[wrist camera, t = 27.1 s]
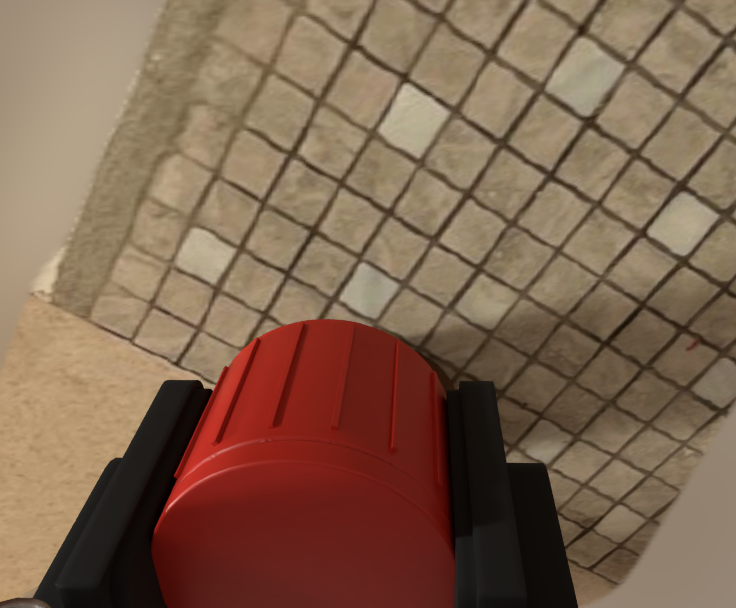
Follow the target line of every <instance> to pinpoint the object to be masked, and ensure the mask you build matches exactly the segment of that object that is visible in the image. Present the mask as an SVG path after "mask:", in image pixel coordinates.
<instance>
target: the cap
mask: <svg viewBox="0 0 736 608" xmlns="http://www.w3.org/2000/svg"><path fill="white" fill-rule="evenodd" d="M174 477H175V478H177V481H176V483H175V485H174V487H173V490H172V492H171V494H170V496H169V498H168V501H167V503H166V505H165V507H164V509H163V512H162V514H161V516H160V518H159V520H158V523H157V525H156V527H155V529H154V533H153V537H152V541H151V553H152V558H153V562H154V566H155V570H156V574H157V577H158V581H159V585H160V589H161V592H162V596H163V599H164V602H165V604H166V606H167V607H168V608H454V585H455V540H454V522H453V505H452V488H451V470H450V453H449V436H448V418H447V396H446V393H445V391H444V388H443V386H442V384H441V382H440V380H439V379H438V376H437V373H436V372H435V371H433V370H432V369H431V367H430V366H429V365H428V363H427V362H426V361H425V360H424V359H423V358H422V357H421V356H420V355H419V354H418V353H417V352H415V351H414V350H413V349H412V348H410V347H409V346H408V345H406V344H405V343H404V342H402V341H401V340H399V339H397V338H396V337H394V336H392V335H390V334H388V333H386V332H383V331H381V330H379V329H377V328H374V327H370V326H367V325H364V324H361V323H356V322H351V321H345V320H333V319H319V320H306V321H301V322H296V323H292V324H289V325H285V326H282V327H279V328H277V329H275V330H272V331H270V332H268V333H266V334H264V335H262V336H261V337H259V338H258V337H257V338H255V339H254V340H253V342H251V343H250V344H249V345H248V346H246V347H245V348H244V349H243V350H242V351H241V352H240V353H239V354H238V355H237V356H236V357H235V359H234V360H233V361H232V363H231V364H230V366H229V367H227V366H225V367H224V369H223V371H222V373H221V375H220V377H219V380H218V382H217V384H216V386H215V388H214V391H213V393H212V395H211V397H210V399H209V401H208V404H207V406H206V408H205V410H204V412H203V414H202V417H201V419H200V421H199V423H198V425H197V427H196V430H195V432H194V434H193V436H192V438H191V440H190V443H189V445H188V447H187V449H186V451H185V453H184V456H183V458H182V460H181V462H180V464H179V466H178V469H177V471H176V473H175V475H174Z"/></svg>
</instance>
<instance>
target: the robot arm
mask: <svg viewBox="0 0 736 608" xmlns="http://www.w3.org/2000/svg"><path fill="white" fill-rule="evenodd" d="M212 393H213V391H212V389H204V387H203V384H202V383H201V381H199V380H167V381H165V382H164V383H163V384H162V386H161V388H160V389H159V391H158V393H157V395H156V397H155V399H154V400H153V402H152V404H151V406H150V408H149V410H148V412H147V413H146V415H145V417H144V419H143V421H142V423H141V425H140V426H139V428H138V430H137V432H136V434H135V436H134V438H133V439H132V441H131V443H130V445H129V447H128V449H127V451H126V452H125V454H124V456H123V458H115V459H113V460H111V461H110V462H109V464H108V465H107V466H106V468H105V469H104V471H103V473H102V475H101V476H100V478H99V480H98V482H97V483H96V485H95V487H94V489H93V491H92V492H91V494H90V496H89V498H88V500H87V501H86V503H85V505H84V507H83V508H82V510H81V512H80V514H79V516H78V517H77V519H76V521H75V523H74V524H73V526H72V528H71V530H70V532H69V533H68V535H67V537H66V539H65V541H64V542H63V544H62V546H61V548H60V549H59V551H58V553H57V555H56V557H55V558H54V560H53V562H52V564H51V566H50V567H49V569H48V571H47V573H46V574H45V576H44V578H43V580H42V582H41V583H40V585H39V587H38V589H37V590H36V592H35V594H34V596H33V598H14V599H10V600H6V601H2V602H0V608H168V607H167V606H166V604H165V602H164V599H163V596H162V592H161V589H160V585H159V581H158V577H157V574H156V570H155V566H154V562H153V558H152V553H151V541H152V537H153V533H154V529H155V527H156V525H157V523H158V520H159V518H160V516H161V514H162V512H163V509H164V507H165V505H166V503H167V501H168V498H169V496H170V494H171V492H172V490H173V487H174V485H175V483H176V481H177V478H175V477H174V475H175V473H176V471H177V469H178V466H179V464H180V462H181V460H182V458H183V456H184V453H185V451H186V449H187V447H188V445H189V443H190V440H191V438H192V436H193V434H194V432H195V430H196V427H197V425H198V423H199V421H200V419H201V417H202V414H203V412H204V410H205V408H206V406H207V404H208V401H209V399H210V397H211V395H212ZM447 418H448V436H449V453H450V470H451V488H452V505H453V522H454V540H455V585H454V608H578V604H577V600H576V596H575V591H574V587H573V582H572V578H571V573H570V569H569V565H568V560H567V556H566V551H565V547H564V542H563V538H562V534H561V529H560V525H559V520H558V516H557V511H556V507H555V503H554V498H553V494H552V489H551V485H550V480H549V476H548V472H547V469H546V466H545V465H544V463H506V457H505V450H504V444H503V437H502V431H501V425H500V418H499V412H498V405H497V399H496V393H495V386H494V382H493V381H460V384H459V390H447Z"/></svg>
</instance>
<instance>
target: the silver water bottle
mask: <svg viewBox="0 0 736 608" xmlns="http://www.w3.org/2000/svg"><path fill="white" fill-rule="evenodd" d="M38 587H39V586H38ZM38 587H35V588H34V589H32V590H30V591H28V592H26V593H24V594H23V595H21V596H20V597H19V598H33V596H34V594H35V592H36V590H37V589H38Z"/></svg>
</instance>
